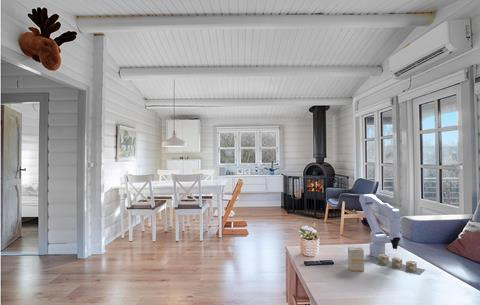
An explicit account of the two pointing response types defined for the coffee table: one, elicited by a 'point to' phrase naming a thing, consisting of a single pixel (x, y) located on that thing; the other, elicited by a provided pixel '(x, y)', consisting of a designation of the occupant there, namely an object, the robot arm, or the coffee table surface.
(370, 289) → the coffee table surface
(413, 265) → the three pip block
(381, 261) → the two pip block
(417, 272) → the slate mat
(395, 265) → the plain block
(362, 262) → the supplement box
